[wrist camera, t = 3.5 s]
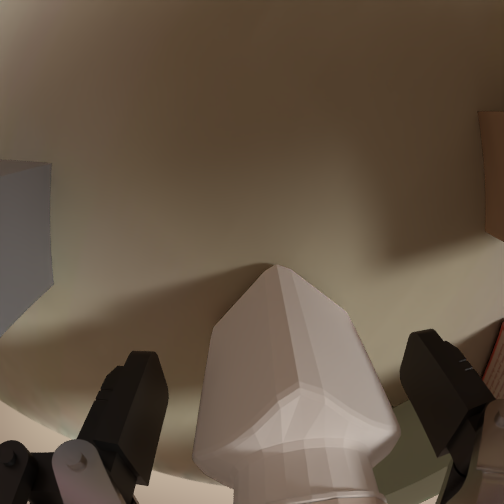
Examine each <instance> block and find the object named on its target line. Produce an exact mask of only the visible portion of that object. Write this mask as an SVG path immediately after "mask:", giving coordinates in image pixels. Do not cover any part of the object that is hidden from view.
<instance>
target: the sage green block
mask: <svg viewBox="0 0 504 504" xmlns="http://www.w3.org/2000/svg"><path fill="white" fill-rule="evenodd" d="M392 409H393V411H394V414H395V416H396V418H397V421H398V423H399V425H400V429H401V436H400V438H399V439H398V441H397V443H396V444H395V446H394V448H393V449H392V451H391V452H390V454H388V455H387V456H386V457H385V458H384V459H383V460H382V461H380V462H379V463H378V464H377V465H376V466H375V467H373V468H372V469H373V473H374V476H375V479H376V483H377V486H378V490H379V493H381V494H383V495H384V496H385V498H386V500H387V503H388V504H419V503H421V502H424V501H426V500H428V499H430V498H432V497H434V496H436V495H438V494H439V493H440V490H441V487H442V484H443V481H444V477H445V474H446V471H447V468H448V464H449V462H450V460H451V459H452V457H451V455H450V453H449V454H446V455H444V456H441V457H438V458H437V456H436V454H435V452H434V450H433V447H432V445H431V443H430V441H429V439H428V437H427V434H426V432H425V430H424V428H423V426H422V424H421V422H420V420H419V418H418V416H417V414H416V412H415V410H414V408H413V406H412V404H411V402H410V400H408V401H406V402H404V403H402V404H400V405H398V406H396V407H394V408H392Z"/></svg>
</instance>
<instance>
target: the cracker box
mask: <svg viewBox="0 0 504 504" xmlns="http://www.w3.org/2000/svg"><path fill="white" fill-rule="evenodd" d="M482 380H483V382H484V383H485V384H486V386H487V387H488V389H489V390H490V391H491V393H492V394H493V396H494V397H495V398H496V399H504V322H503V323H502V325H501V329H500V332H499V335H498V338H497V341H496V344H495V346H494V349H493V352H492V355H491V357H490V360H489V363H488V365H487V367H486V370H485V372H484V375H483V377H482Z"/></svg>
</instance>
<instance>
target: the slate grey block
mask: <svg viewBox="0 0 504 504" xmlns="http://www.w3.org/2000/svg"><path fill="white" fill-rule="evenodd" d="M51 166H52V163H43V162H30V161H16V160H0V337H1V336H2V335H3V334H4V333H5V332H6V331H7V330H8V329H9V328H10V327H11V325H12V324H13V323H14V322H15V321H16V320H17V319H18V318H19V317H20V316H21V315H22V314H23V313H24V312H25V311H26V310H27V309H28V308H29V307H30V306H31V305H32V304H33V303H35V302H36V301H37V300H38V299H39V298H40V297H41V296H42V295H43V294H44V293H45V292H46V291H47V290H48V289H49V288H50V287H51V286H53V285H54V281H53V270H52V257H51V238H50V184H51Z"/></svg>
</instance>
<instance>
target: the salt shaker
mask: <svg viewBox="0 0 504 504" xmlns="http://www.w3.org/2000/svg"><path fill="white" fill-rule="evenodd" d="M400 436H401V429H400V425H399V423H398V421H397V418H396V416H395V414H394V411H393V409H392V407H391V405H390V402H389V400H388V398H387V395H386V393H385V391H384V389H383V387H382V384H381V382H380V380H379V378H378V376H377V373H376V371H375V369H374V367H373V365H372V363H371V360H370V358H369V356H368V354H367V352H366V350H365V348H364V346H363V344H362V341H361V339H360V337H359V335H358V333H357V331H356V329H355V327H354V325H353V323H352V321H351V319H350V317H349V315H348V313H347V312H346V311H345V310H344V309H342V308H341V307H340V306H338V305H337V304H336V303H334V302H333V301H332V300H331V299H329V298H328V297H327V296H325V295H324V294H323V293H321V292H320V291H319V290H318V289H316V288H315V287H314V286H312V285H311V284H310V283H308V282H307V281H306V280H304V279H303V278H302V277H301V276H299V275H298V274H297V273H295V272H294V271H293V270H291V269H290V268H286V267H283V266H281V265H278V264H275V265H274V266H272V267H270V268H269V269H267V270H265V271H264V272H263V273H262V274H261V275H260V277H259V278H258V279H257V280H256V281H255V282H254V283H253V284H252V285H251V286H250V288H249V289H248V290H247V291H246V292H245V293H244V294H243V295H242V296H241V298H240V299H239V300H238V301H237V302H236V303H235V304H234V305H233V306H232V307H231V308H230V310H229V311H228V312H227V313H226V314H225V315H224V316H223V317H222V318H221V319H220V321H219V322H218V323H217V324H216V325H215V326H214V327H213V331H212V335H211V339H210V345H209V351H208V357H207V363H206V369H205V375H204V381H203V387H202V394H201V400H200V406H199V413H198V419H197V426H196V433H195V439H194V446H193V453H192V459H193V461H194V463H195V464H196V465H197V466H198V467H199V468H200V469H201V471H202V472H203V473H204V474H206V475H207V476H209V477H211V478H213V479H214V480H216V481H218V482H220V483H222V484H224V485H225V486H227V487H229V488H232V489H234V503H233V504H388V503H387V500H386V498H385V496H384V495H383V494H381V493H379V490H378V486H377V483H376V479H375V476H374V473H373V469H372V468H373V467H375V466H376V465H377V464H378V463H379V462H380V461H382V460H383V459H384V458H385V457H386V456H387V455H388V454H390V452H391V451H392V449H393V448H394V446H395V444H396V443H397V441H398V439H399V438H400Z"/></svg>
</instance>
